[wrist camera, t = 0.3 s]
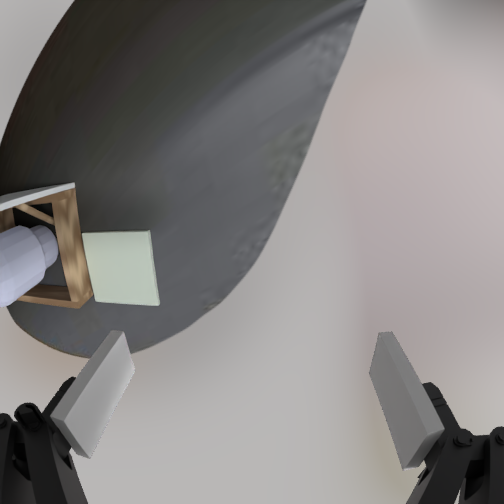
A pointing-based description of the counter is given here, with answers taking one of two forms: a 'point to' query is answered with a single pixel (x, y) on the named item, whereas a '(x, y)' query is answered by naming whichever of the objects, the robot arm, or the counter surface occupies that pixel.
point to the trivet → (121, 266)
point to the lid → (31, 195)
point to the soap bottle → (24, 260)
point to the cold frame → (68, 246)
